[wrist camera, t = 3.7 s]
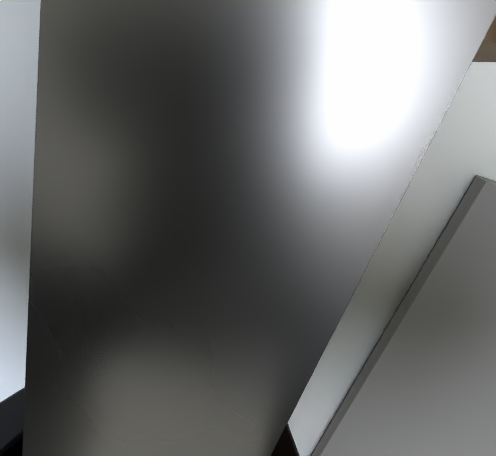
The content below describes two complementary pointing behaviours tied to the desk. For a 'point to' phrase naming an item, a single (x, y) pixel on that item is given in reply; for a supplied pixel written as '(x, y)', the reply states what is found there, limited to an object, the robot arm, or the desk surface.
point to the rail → (215, 205)
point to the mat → (433, 353)
